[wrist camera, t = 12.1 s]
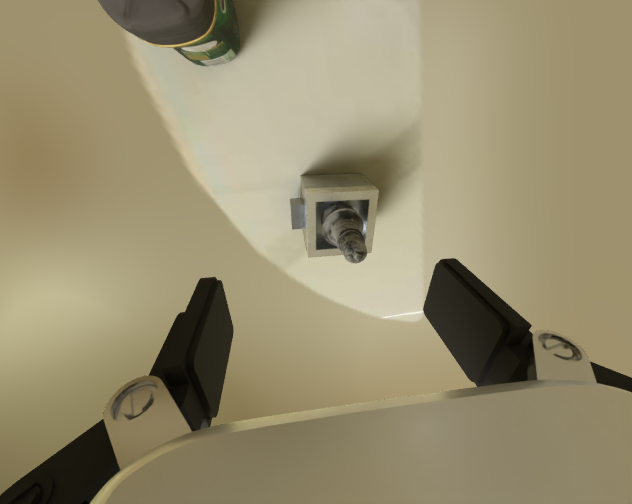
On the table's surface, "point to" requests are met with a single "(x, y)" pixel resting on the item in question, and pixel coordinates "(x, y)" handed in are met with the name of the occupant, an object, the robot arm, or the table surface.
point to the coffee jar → (182, 26)
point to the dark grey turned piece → (344, 230)
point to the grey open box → (323, 193)
